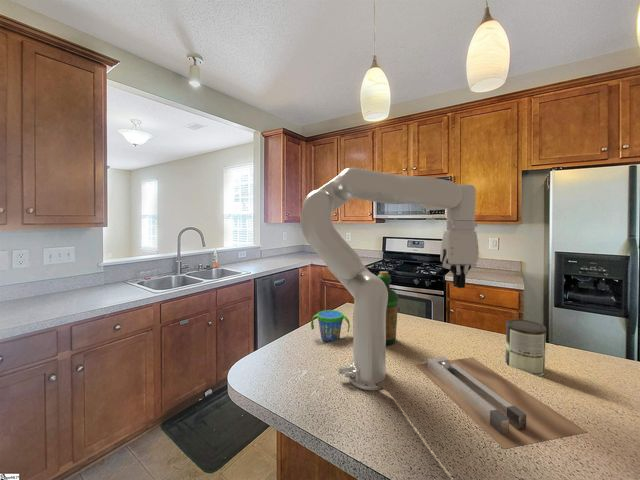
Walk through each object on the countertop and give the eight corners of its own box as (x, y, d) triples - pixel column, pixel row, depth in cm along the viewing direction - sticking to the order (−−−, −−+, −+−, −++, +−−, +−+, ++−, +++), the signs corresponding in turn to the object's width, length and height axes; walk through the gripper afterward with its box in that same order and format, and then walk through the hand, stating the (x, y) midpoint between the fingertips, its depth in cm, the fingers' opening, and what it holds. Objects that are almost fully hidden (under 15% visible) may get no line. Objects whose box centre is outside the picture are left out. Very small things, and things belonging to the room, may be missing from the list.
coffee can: (497, 360, 94) (498, 319, 93) (527, 359, 95) (529, 318, 94) (520, 377, 84) (522, 331, 83) (554, 376, 84) (556, 330, 83)
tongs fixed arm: (427, 368, 87) (427, 358, 87) (444, 366, 88) (444, 356, 88) (500, 434, 60) (501, 420, 60) (524, 429, 61) (524, 415, 61)
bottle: (400, 351, 102) (400, 274, 100) (370, 349, 103) (369, 274, 102) (396, 339, 112) (396, 269, 110) (369, 338, 114) (369, 269, 112)
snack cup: (352, 335, 117) (351, 311, 116) (346, 346, 107) (346, 320, 106) (316, 331, 122) (316, 308, 121) (307, 341, 112) (307, 316, 111)
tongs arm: (439, 371, 85) (439, 361, 84) (450, 370, 85) (450, 359, 85) (511, 431, 60) (511, 417, 60) (525, 428, 61) (526, 414, 61)
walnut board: (503, 456, 56) (504, 448, 56) (414, 369, 90) (414, 364, 89) (587, 438, 60) (587, 432, 60) (472, 361, 94) (472, 357, 94)
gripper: (473, 226, 89) (472, 283, 91) (430, 226, 87) (429, 285, 88) (492, 226, 82) (490, 288, 83) (445, 227, 79) (444, 291, 81)
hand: (459, 286), depth 86 cm, fingers closed
